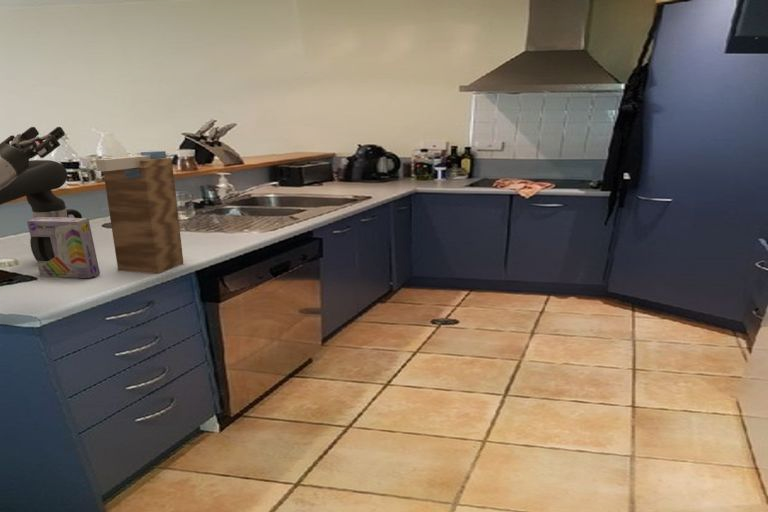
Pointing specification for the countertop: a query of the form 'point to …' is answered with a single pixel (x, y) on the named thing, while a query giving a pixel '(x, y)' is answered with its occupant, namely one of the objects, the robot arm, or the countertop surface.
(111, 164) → the cream and blue bar
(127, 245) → the wood grain block
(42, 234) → the cake pan box
